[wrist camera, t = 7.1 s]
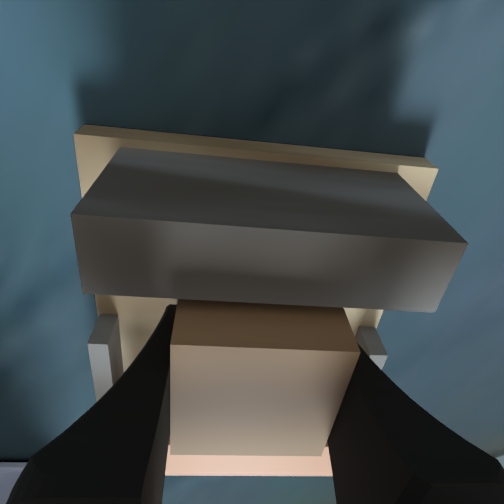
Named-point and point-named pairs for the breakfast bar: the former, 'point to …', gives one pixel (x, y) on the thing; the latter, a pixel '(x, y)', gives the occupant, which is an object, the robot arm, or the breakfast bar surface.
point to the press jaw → (249, 465)
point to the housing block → (257, 377)
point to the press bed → (250, 233)
